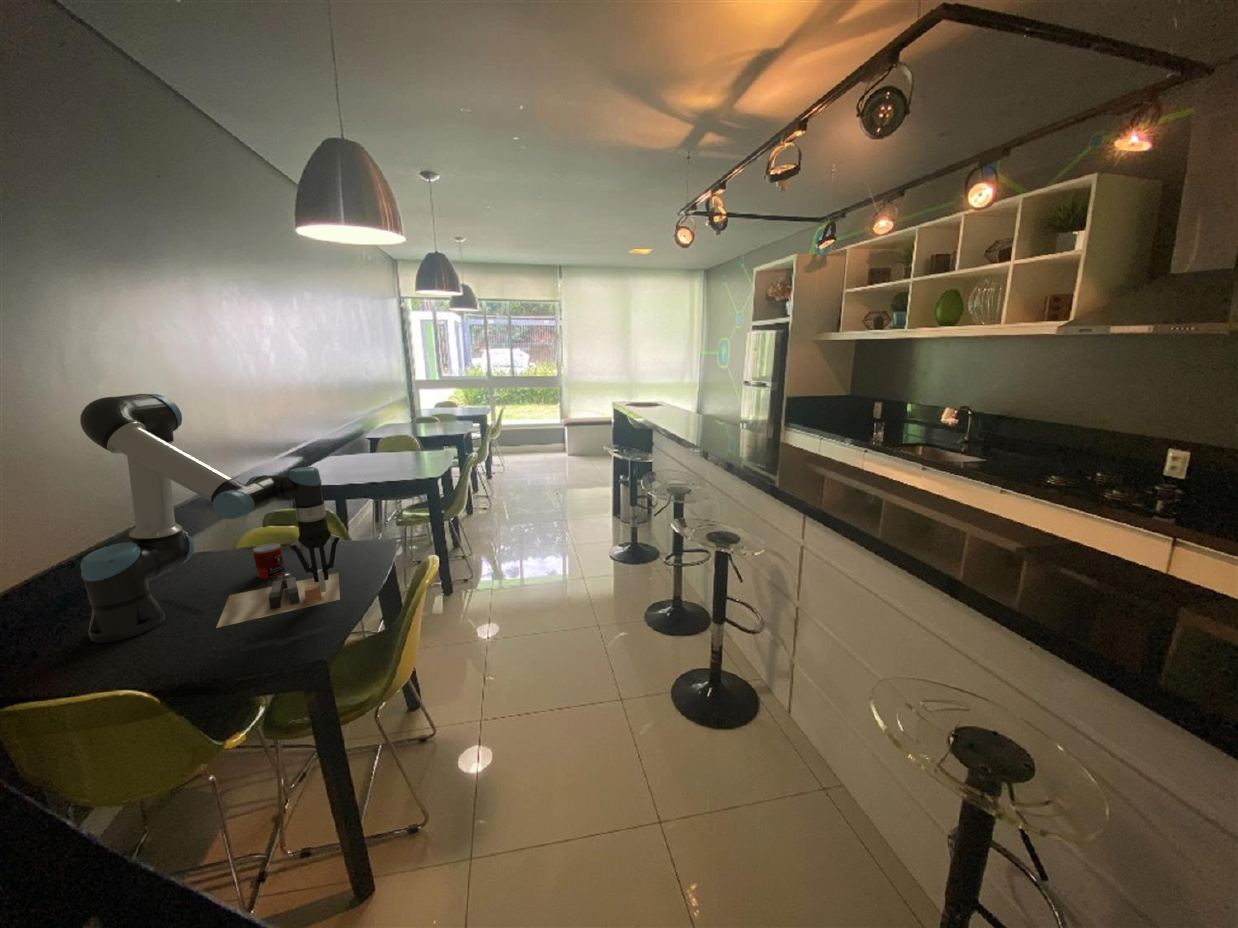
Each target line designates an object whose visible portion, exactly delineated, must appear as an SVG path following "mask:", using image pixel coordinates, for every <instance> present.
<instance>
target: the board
mask: <svg viewBox="0 0 1238 928" xmlns="http://www.w3.org/2000/svg"><path fill="white" fill-rule="evenodd" d="M339 575H340V574H339V572H336V573H331V574H328V576H329V579H328V580H325V584H326V592H321V593H322V598H320V599H316V600H311V601H307V602H306V597H305V587H308V586H313V585H318V584H319V582H315V581H314V577H312V578H307V579H301V580H296V584H297V588H298V593H299V599H300V603H296V604H292V605H290V601H289V595H288V588H284V592H283V598H282V604H281V607H280V608H276V609H270V603H269V595H270V592H271V588H272V586H268V587H263V588H258V589H255V590H254V589H253V590H248V591H244V592H240V593H239V592H238V593H234V594H229V595H228V598H227V600H226V603H225V606H224V608H223V609H222V613H221V615H220V617H219V620H218V622H217V625H216V627H215V629H217V628H218V629H219V628H222V627H226V626H230V625H231V626H232V625H236V624H239V623H244V622H248V621H253V620H257V619H261V618H266V617H270V616H274V615H278V614H283V613H287V612H288V613H289V612H292V611H296V610H301V609H305V608H309V607H310V608H311V607H314V606H318V605H321V604H322V605H323V604H327V603H331V602H335V601H340V600H341V596H340V595H341V593H340V576H339Z"/></svg>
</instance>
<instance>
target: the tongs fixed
mask: <svg viewBox="0 0 1238 928" xmlns="http://www.w3.org/2000/svg"><path fill="white" fill-rule="evenodd" d="M276 577H277V580H275V581H273V582H272V583H271V584H272V585H271V587H272V588H271V592H270V595H269V603H270V609H276V608H280V607H281V604H282V598H283V592H284V588H288V587H287V580H286V579H288V578H292V573H291V572H290V571H288V572H287V571H285V572H284V573H281V574H279V575H278V576H276Z"/></svg>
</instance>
